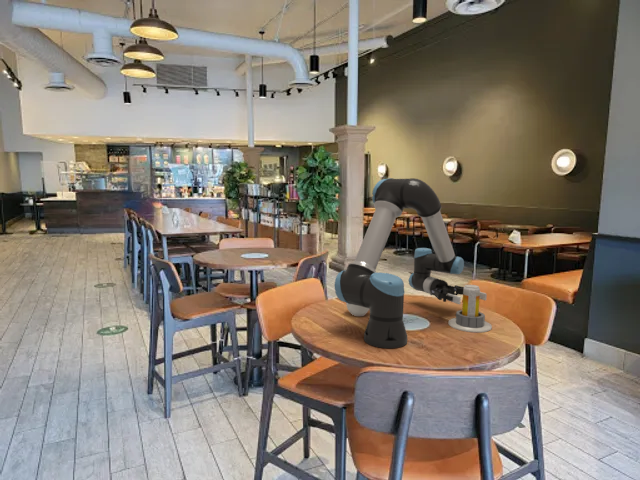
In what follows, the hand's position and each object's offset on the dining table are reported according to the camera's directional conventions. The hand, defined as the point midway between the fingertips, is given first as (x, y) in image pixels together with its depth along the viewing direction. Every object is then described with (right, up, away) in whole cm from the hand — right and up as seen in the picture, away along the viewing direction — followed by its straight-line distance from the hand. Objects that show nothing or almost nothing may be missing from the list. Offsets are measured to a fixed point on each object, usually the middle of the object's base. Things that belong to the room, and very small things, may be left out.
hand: (473, 298), depth 164 cm
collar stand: (-1, -11, +2) cm, 11 cm away
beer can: (-1, -10, +2) cm, 10 cm away
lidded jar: (-43, -9, +16) cm, 47 cm away
